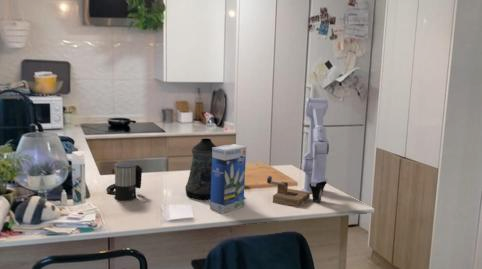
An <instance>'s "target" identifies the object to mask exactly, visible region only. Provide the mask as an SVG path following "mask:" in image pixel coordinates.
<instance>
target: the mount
mask: <svg viewBox="0 0 482 269" xmlns="http://www.w3.org/2000/svg"><path fill="white" fill-rule="evenodd" d="M280 182H282V183H284V184H281V183H278V185H277V192H276V193H275V194H273V195H272V203H276V204H280V203H281V204H280V205H285V204H287V206H290V205H292V206H291V207H296V206H297V207H296V208H300V207H301V206H302V205H304V204H305V203H306V202H307V201H308V200H310V198H311V196H310V195H311V193H310V192H305V191H301V190H300V189H299V190H298V189H293V188H288V187H289V186H288V185H289V182H288V181H283V180H282V181H281V180H280ZM303 203H304V204H303ZM299 206H300V207H299Z"/></svg>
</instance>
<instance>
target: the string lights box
mask: <svg viewBox="0 0 482 269" xmlns="http://www.w3.org/2000/svg"><path fill="white" fill-rule="evenodd" d="M246 157H247V145H246V146H245V145H241V144H236V143H233V144H224V145H220V146H216V147H213V148H212V174H211V199H210V200H209V201H210V202H209V209H210V210H212V211H215V212H218V213H221V214H224V213H228V212H230V211H235V210H237V209H241V208H244V204H245V203H244V201H245V186H246V184H245V182H246V181H245V180H246V162H247V161H246V160H247V158H246Z"/></svg>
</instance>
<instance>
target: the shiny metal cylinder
mask: <svg viewBox="0 0 482 269" xmlns="http://www.w3.org/2000/svg"><path fill="white" fill-rule="evenodd" d="M321 194H322V195H323V192H322V189H321V190H320V194H319V198H318V200H314V199H313V198H312V202H313V203H316V204H318V203H322V195H321Z"/></svg>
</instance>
